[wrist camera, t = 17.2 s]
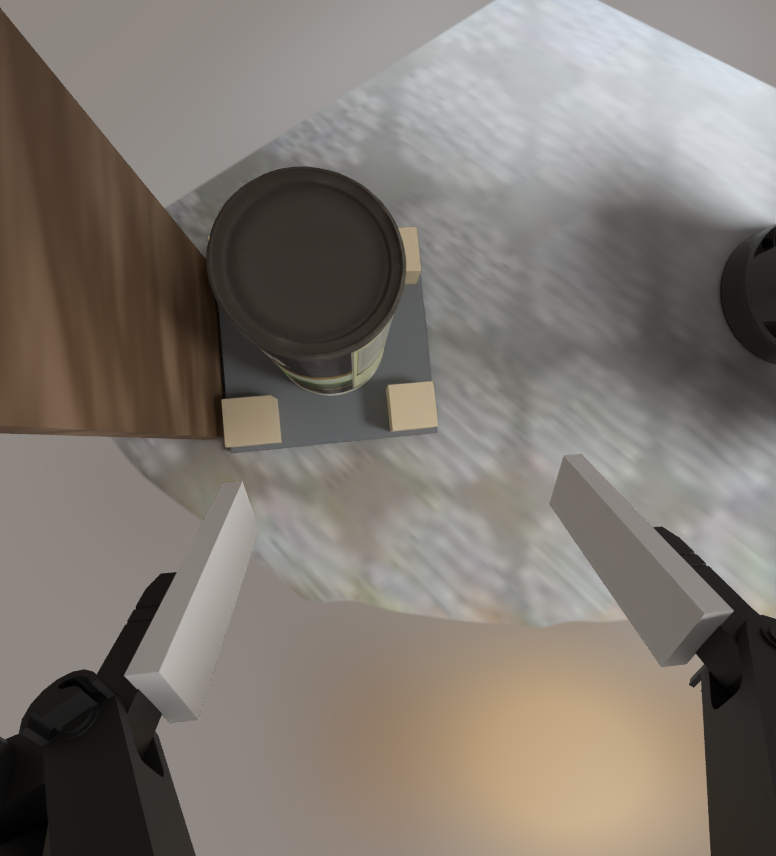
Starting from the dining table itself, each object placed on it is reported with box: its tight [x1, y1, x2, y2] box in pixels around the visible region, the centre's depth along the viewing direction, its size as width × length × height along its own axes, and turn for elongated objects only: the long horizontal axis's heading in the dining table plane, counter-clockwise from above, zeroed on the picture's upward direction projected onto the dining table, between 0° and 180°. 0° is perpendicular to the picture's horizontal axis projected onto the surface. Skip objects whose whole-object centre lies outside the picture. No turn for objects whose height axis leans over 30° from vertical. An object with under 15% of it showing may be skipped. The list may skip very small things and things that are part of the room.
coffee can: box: [206, 167, 406, 396], centre depth 24 cm, size 10×10×14 cm
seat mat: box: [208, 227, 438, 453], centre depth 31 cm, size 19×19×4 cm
